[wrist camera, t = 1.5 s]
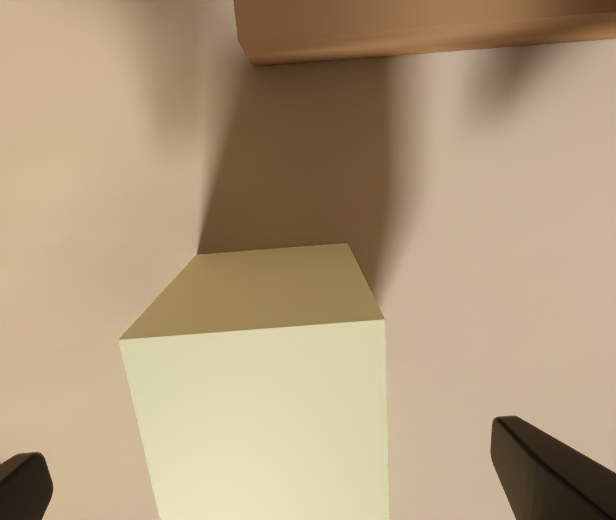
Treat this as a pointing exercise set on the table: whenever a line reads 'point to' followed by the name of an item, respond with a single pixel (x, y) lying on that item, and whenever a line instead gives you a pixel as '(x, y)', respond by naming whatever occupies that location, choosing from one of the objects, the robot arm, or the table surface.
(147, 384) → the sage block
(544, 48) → the table surface
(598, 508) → the robot arm
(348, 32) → the walnut base
